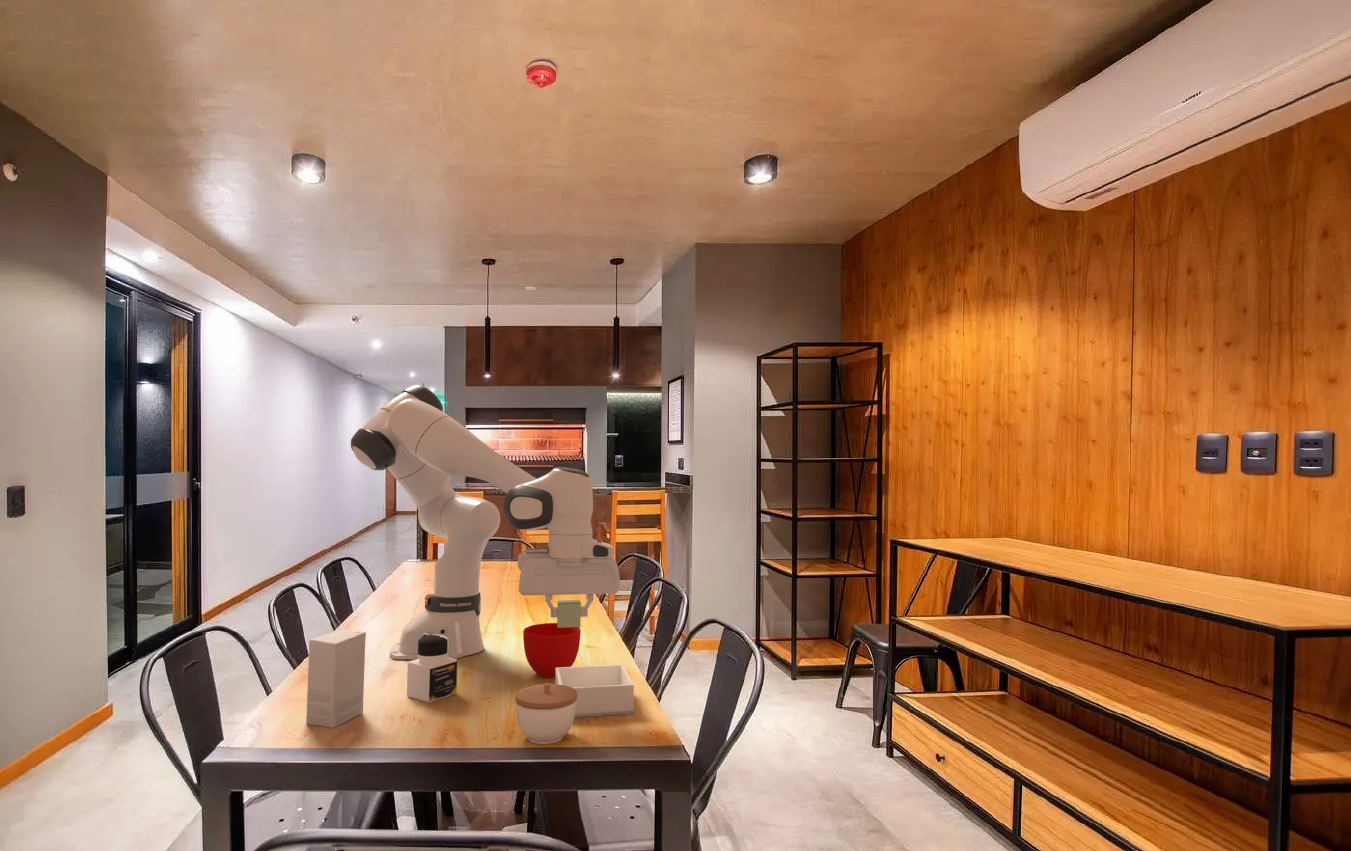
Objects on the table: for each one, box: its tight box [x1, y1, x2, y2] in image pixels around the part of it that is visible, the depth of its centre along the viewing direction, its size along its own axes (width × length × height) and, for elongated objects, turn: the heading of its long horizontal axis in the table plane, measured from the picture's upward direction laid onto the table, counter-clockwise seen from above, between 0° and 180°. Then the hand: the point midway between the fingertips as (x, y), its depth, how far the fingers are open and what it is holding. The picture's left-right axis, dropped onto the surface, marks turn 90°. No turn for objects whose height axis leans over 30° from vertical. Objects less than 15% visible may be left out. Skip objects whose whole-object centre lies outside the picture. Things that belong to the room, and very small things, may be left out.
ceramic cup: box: [522, 622, 582, 679], centre depth 168 cm, size 13×17×10 cm
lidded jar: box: [515, 682, 577, 745], centre depth 128 cm, size 11×11×9 cm
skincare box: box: [305, 629, 367, 729], centre depth 136 cm, size 8×7×16 cm
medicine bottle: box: [406, 635, 458, 704], centre depth 150 cm, size 7×7×12 cm
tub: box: [554, 663, 635, 718], centre depth 146 cm, size 14×14×6 cm
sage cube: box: [556, 599, 582, 628], centre depth 146 cm, size 4×4×4 cm
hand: (569, 616), depth 146 cm, fingers closed on sage cube, 4 cm apart
